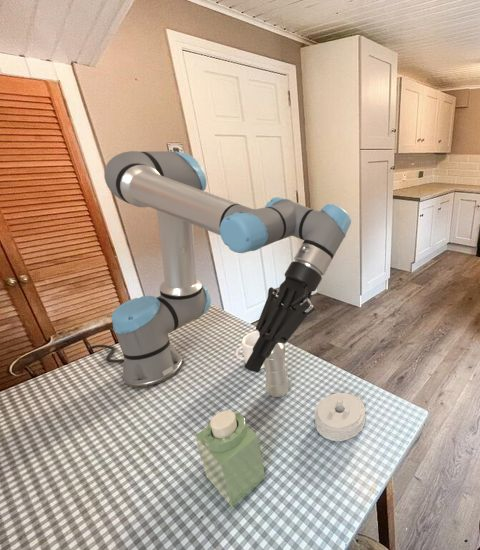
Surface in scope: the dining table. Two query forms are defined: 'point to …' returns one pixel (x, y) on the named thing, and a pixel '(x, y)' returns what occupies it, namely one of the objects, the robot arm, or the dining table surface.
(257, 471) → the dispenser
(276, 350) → the plastic bottle
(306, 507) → the dining table surface
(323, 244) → the robot arm
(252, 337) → the mug
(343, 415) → the lid
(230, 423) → the beige short cylinder
